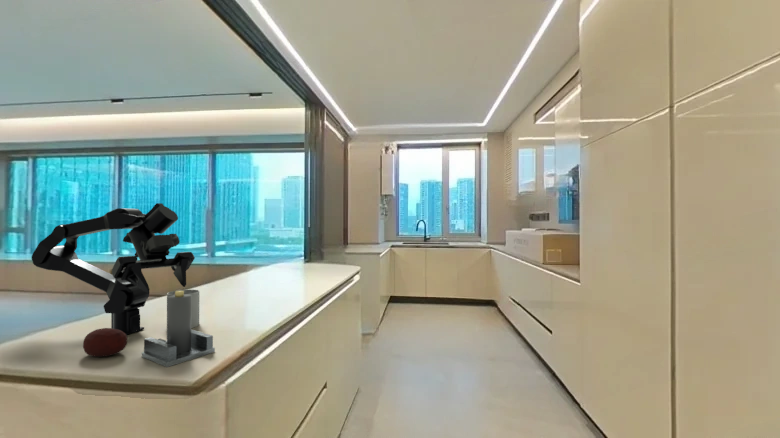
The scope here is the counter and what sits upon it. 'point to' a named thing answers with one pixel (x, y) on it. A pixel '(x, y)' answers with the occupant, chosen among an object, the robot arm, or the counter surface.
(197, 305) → the cup
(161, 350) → the housing
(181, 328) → the plug
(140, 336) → the counter surface
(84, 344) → the potato
